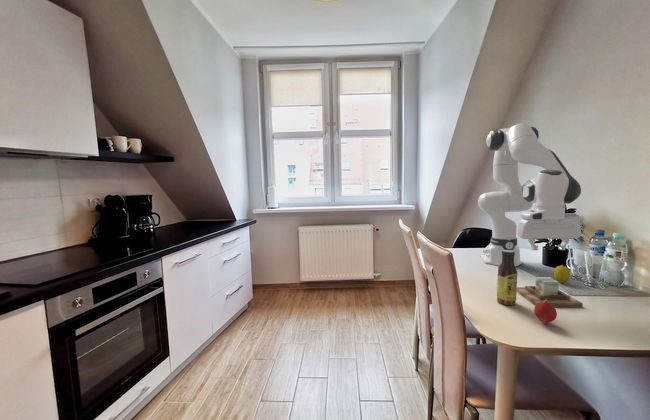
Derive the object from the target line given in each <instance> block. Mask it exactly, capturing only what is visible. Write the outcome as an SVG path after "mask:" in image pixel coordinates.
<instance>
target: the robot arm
mask: <svg viewBox="0 0 650 420" xmlns="http://www.w3.org/2000/svg"><path fill="white" fill-rule="evenodd" d="M539 135H540V133H539V130H538V129H537V127H536V126H535V127H534V126H531V125H529V124H527V123H522V122H521V123H517V124H515V125H512V126H511V127H506V128H499V129H498V128H497V129H494V130H493V129H492V130H490V131H489V133H488V134H487V136H486V147H487V148H488V150H490V151H494V155H493V165H492V167H493V168H492V169H493V170H492V171H493V172H492V178H493V181H494V182H495V183H496V184H498V185H500V186H502V187H503V188H504V191H489V192H488V191H487V192H484V193H482V194H480V195H479V197H478V199H477V205H478V207H479V208H478V209H480V210H481V211H483V212H484V213H485V214H486V215H487V216H488V217H489V220H490V222H491V228H492V229H491V231H492V236H491V237H490V241H489V242H490V243H489V244H488V245H487V246H485V248H484V249H483V254H480V256H481V257H480V256H479V257H480V258H481V260H482V261H483V262H484V264H488V265H494V266H497V267H499V266H500V264H501V263H502V250H512V251H514V252H515V255H514V265H515V267H519V265H521V264H522V265H523V263H524V262H523V261H522V260H521V254H520V253H521V249H520V248H519V247H518V238H520V239H523V240H527V241H528V243H529V245H530V250H532V251H539V246H538V245H536V244H535V242H536V239H537V240H539V239H540V240H544V239H545V240H546V239H551V240H553V239H560V240H561V243H560V244H558V245H557V247H558V250H559V251H566V247H567V246H568V244H569V242H570V240H571V239H580V237H581V236H582V228H581V227H582V226H581V216H580V215H579V214H577V213H575V212H571V213H569V212H567V213H566V212H565V211H566V204H571V203H573V202H575V201H576V200H578V198H579V197H580V196H581V194H582V187H581V185H580V183H579V182H578V180H577V179H575V177H574V176H572V174H570V172H569V170H567V169H568V168H566V167H565V165H564V164H563V162H562V161H561V160H560V158H559V157H558V155H557V154H556V153H555V152H554V151H553V150H551V149H549V148H547V147H546V146H544V145H543V144H542V143H541V142H540V141H539V138H540V136H539ZM519 164H524V165H532V166H537V167H540V168H543V170H540V171H538V172H537V175H536V176H535V177H534V178H532V179H529V180H527V181H526V182H524V184H523V185H522V184H521V182H520V179H519ZM534 204H535V205H534ZM533 205H534V208H532V207H533ZM531 208H532V209H531ZM515 212H516V213H517V212H518V213H519V212H521V213H520V218H521V219H520V220H519V221H518V225H517V223H516V222H515V220H512V219H511V218H508V217H507V216H506V213H515ZM517 236H518V238H517Z"/></svg>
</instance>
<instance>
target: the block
mask: <svg viewBox="0 0 650 420" xmlns="http://www.w3.org/2000/svg"><path fill="white" fill-rule="evenodd" d="M535 286H536V288H535V291H537V292H538V293H540V294H542V295H558V290H559V281H558V280H556V279H555V278H552V277H548V276H547V277H546V276H543V277H542V276H541V277H535Z"/></svg>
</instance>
